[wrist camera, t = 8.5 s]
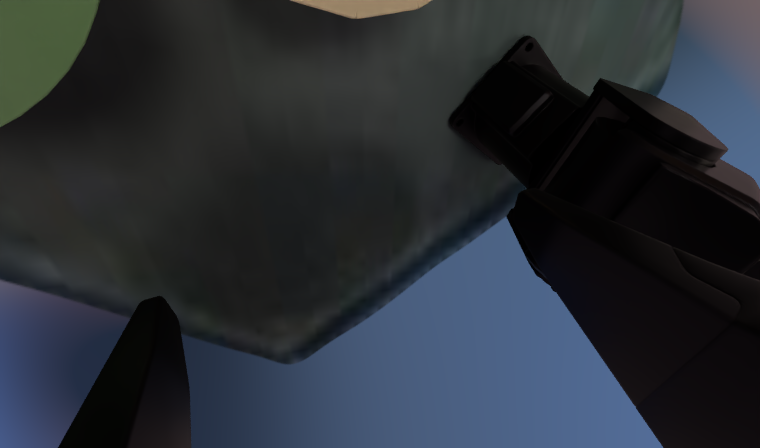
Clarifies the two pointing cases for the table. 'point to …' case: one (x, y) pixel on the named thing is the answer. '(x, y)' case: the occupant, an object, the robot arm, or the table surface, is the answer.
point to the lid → (38, 48)
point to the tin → (364, 6)
